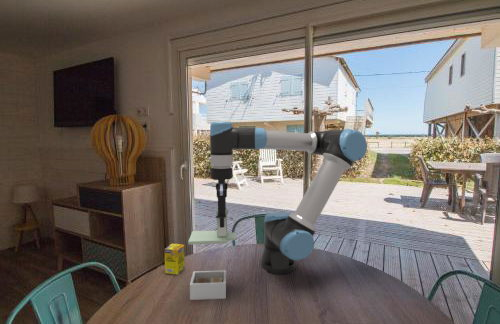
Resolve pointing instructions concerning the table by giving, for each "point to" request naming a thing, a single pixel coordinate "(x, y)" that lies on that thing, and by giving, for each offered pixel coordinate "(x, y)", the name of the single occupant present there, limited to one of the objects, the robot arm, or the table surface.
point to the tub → (208, 285)
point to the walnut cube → (201, 280)
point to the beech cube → (216, 280)
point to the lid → (211, 236)
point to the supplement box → (174, 259)
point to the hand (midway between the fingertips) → (222, 233)
